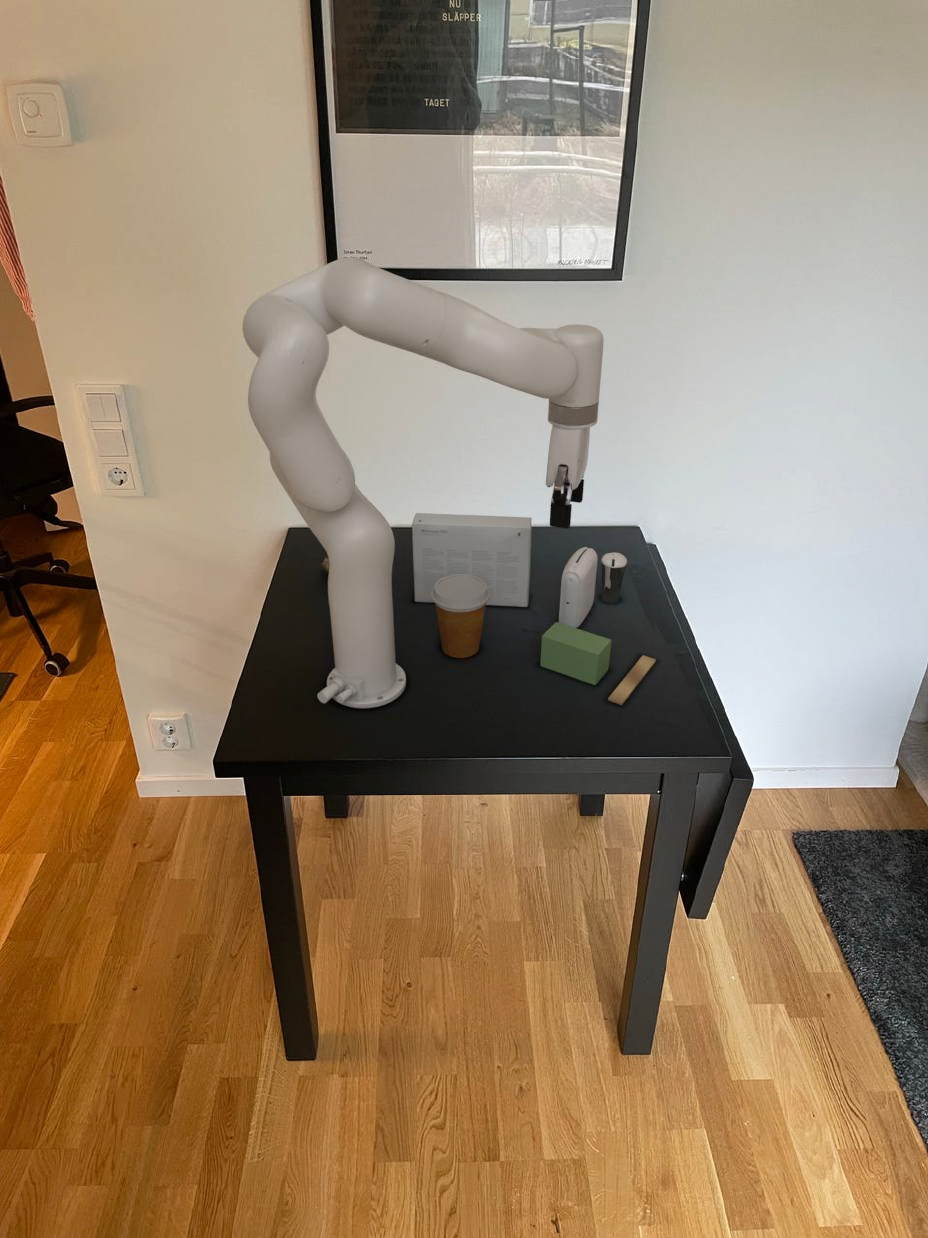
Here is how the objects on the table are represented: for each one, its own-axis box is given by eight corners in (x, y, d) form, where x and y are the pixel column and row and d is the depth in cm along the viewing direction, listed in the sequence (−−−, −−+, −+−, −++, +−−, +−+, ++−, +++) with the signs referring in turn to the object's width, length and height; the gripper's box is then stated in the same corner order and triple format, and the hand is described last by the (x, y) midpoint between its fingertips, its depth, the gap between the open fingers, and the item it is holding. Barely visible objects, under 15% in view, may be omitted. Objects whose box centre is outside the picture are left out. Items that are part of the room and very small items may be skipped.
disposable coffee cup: (476, 627, 159) (476, 568, 152) (497, 656, 151) (498, 595, 145) (424, 638, 156) (423, 578, 149) (443, 668, 148) (442, 606, 142)
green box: (595, 685, 144) (598, 654, 141) (540, 666, 149) (541, 635, 146) (608, 670, 148) (611, 639, 145) (554, 651, 152) (556, 621, 149)
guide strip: (621, 705, 140) (622, 703, 140) (607, 700, 141) (607, 698, 141) (656, 661, 150) (656, 659, 150) (642, 656, 151) (642, 655, 151)
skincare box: (529, 593, 169) (532, 516, 160) (528, 608, 164) (531, 530, 156) (417, 587, 170) (415, 510, 162) (413, 602, 166) (410, 524, 157)
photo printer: (578, 631, 158) (583, 570, 151) (555, 626, 159) (559, 564, 152) (596, 603, 166) (601, 543, 159) (573, 598, 167) (578, 539, 160)
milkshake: (595, 605, 165) (600, 557, 160) (599, 591, 169) (603, 543, 164) (620, 608, 164) (626, 560, 159) (623, 594, 168) (629, 546, 163)
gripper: (561, 390, 144) (555, 489, 153) (535, 428, 130) (530, 534, 139) (607, 395, 142) (599, 494, 151) (586, 433, 128) (578, 540, 137)
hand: (566, 513), depth 145 cm, fingers open, 9 cm apart
